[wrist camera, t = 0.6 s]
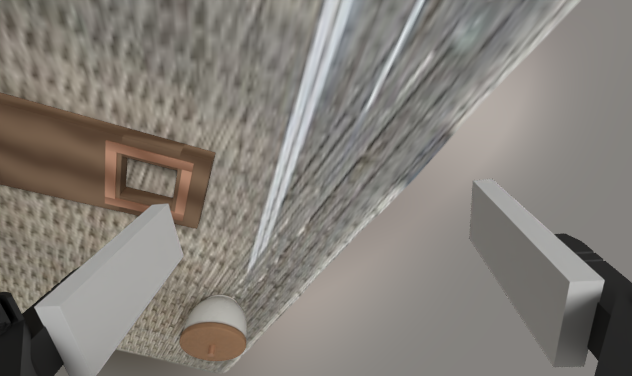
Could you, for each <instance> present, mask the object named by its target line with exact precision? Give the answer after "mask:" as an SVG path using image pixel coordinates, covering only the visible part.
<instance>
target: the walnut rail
mask: <svg viewBox="0 0 632 376" xmlns="http://www.w3.org/2000/svg"><path fill="white" fill-rule="evenodd" d="M214 157H215V152H211V151H208V150H204V149H201V148H197V147H193V146H190V145H186V144H183V143H179V142H175V141H172V140H168V139H165V138H161V137H158V136H154V135H150V134H147V133H143V132H140V131H136V130H132V129H129V128H125V127H122V126H118V125H115V124H111V123H107V122H104V121H100V120H97V119H93V118H89V117H86V116H82V115H79V114H75V113H72V112H68V111H64V110H61V109H57V108H54V107H50V106H46V105H43V104H39V103H36V102H32V101H29V100H25V99H21V98H18V97H14V96H11V95H7V94H4V93H0V184H1V185H5V186H10V187H14V188H18V189H23V190H27V191H32V192H36V193H41V194H45V195H49V196H54V197H58V198H63V199H67V200H72V201H76V202H80V203H85V204H89V205H94V206H98V207H103V208H107V209H111V210H116V211H120V212H125V213H129V214H134V215H138V216H140V215H141V214H142V213H143V212H144V211H145V210H147V209H148V208H149V207H150V206H151V205H156V204H169V208H170V211H171V214H172V218H173V221H174V224H178V225H182V226H187V227H191V228H196V229H197V227H198V224H199V221H200V217H201V213H202V209H203V204H204V200H205V196H206V191H207V187H208V183H209V178H210V174H211V170H212V166H213V161H214ZM127 158H131V159H135V160H138V161H142V162H146V163H150V164H154V165H158V166H161V167H165V168H169V169H173V170H177V171H178V172H177V178H176V184H175V190H174V197H173V198H170V197H166V196H162V195H158V194H154V193H150V192H146V191H141V190H137V189H133V188H129V187H126V174H127Z"/></svg>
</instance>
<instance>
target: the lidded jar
mask: <svg viewBox="0 0 632 376" xmlns="http://www.w3.org/2000/svg"><path fill="white" fill-rule="evenodd" d="M246 335H247V321H246V316H245V313H244V311H243V309H242V308H241V307H240V305H239V304H238V303H237V301H236V300H235V299H233V298H232V297H230V296H227V295H212V296H210V297H208V298H206V299H205V300H203V301H202V302H200V303H199V304H198V305H196V306H195V308H194V309H193V310H192V311H191V313H190V315H189V317H188V318H187V321H186V323H185V326H184V329H183V332H182V334H181V337H180V346H181V348H182V349H183V350H184V351H185V352H186V353H188V354H189V355H191V356H193V357H196V358H199V359H203V360H209V361H224V360H229V359H233V358H235V357H237V356H239V355H240V354H242V353H243V351H244V350H245V348H246Z"/></svg>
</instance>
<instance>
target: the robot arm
mask: <svg viewBox="0 0 632 376" xmlns="http://www.w3.org/2000/svg"><path fill="white" fill-rule="evenodd" d="M469 239H470V241H471V242H472V244H473V245H474V247H475V248H476V250H477V251H478V253H479V254H480V256H481V258H482V259H483V261H484V262H485V264H486V265H487V266H488V268H489V270H490V271H491V273H492V274H493V276H494V277H495V279H496V280H497V282H498V283H499V285H500V286H501V288H502V289H503V291H504V292H505V294H506V296H507V297H508V299H509V300H510V302H511V303H512V305H513V306H514V308H515V309H516V311H517V312H518V314H519V315H520V317H521V318H522V320H523V321H524V323H525V324H526V326H527V328H528V329H529V330H530V332H531V334H532V335H533V337H534V338H535V340H536V341H537V343H538V344H539V346H540V347H541V349H542V350H543V352H544V354H545V355H546V356H547V358H548V360H549V361H550V363H551V364H552V366H553V367H581V366H584V365H585V361H586V357H587V353H588V349H589V350H590V351H591V352H592V354H593V355H594V356H595V357H596V359H597V360H598V365H597V369H596V372H595V376H632V283H631V282H630V281H629V280H628V279H627V278H625V277H624V276H623V275H622V274H620V273H619V272H618V271H617V270H616V269H615V268H613V267H612V266H611V265H609V264H608V263H607V262H606V261H603V259H602V258H601V257H600V256H599V255H597V254H596V253H594V252H593V250H591V249H590V248H589V247H588V246H587V245H585V244H584V243H583V242H582V241H580V240H578V239H575V238H573V237H571V236H569V235H567V234H553V233H552V232H550V231H549V230H548V229H547V228H546V227H545V226H544V225H543V224H542V223H541V222H539V221H538V220H537V219H536V218H535V217H534V216H533V215H532V214H531V213H529V212H528V211H527V210H526V209H525V208H524V207H523V206H522V205H521V204H519V203H518V202H517V201H516V200H515V199H514V198H513V197H512V196H511V195H509V194H508V193H507V192H506V191H505V190H504V189H503V188H502V187H501V186H499V185H498V184H497V183H496V182H495V181H494V180H493V179H487V180H474V181H473V188H472V205H471V220H470V236H469ZM182 258H183V252H182V249H181V245H180V242H179V239H178V235H177V232H176V228H175V225H174V221H173V218H172V214H171V211H170V208H169V204H156V205H151V206H150V207H149V208H148V209H147V210H145V211H144V212H143V213H142V214H141V215H140V216H139V217H137V218H136V219H135V220H134V221H133V222H132V223H130V224H129V225H128V226H127V227H126V228H125V229H124V230H122V231H121V232H120V233H119V234H118V235H117V236H115V237H114V238H113V239H112V240H111V241H110V242H109V243H107V244H106V245H105V246H104V247H103V248H102V249H100V250H99V251H98V252H97V253H96V254H95V255H94V256H92V257H91V258H90V259H89V260H88V261H87V262H85V263H84V264H83V265H82V266H81V267H79V268H77V269H75V270H74V271H72V272H71V273H69V274H68V275H67V276H66V277H65V278H64V279H62V280H61V282H60V283H58V284H57V285H55V286H54V287H53V288H52V289H51V291H48V292H47V293H46V294H45V295H44V296H43V297H41V298H40V299H39V300H38V301H37V302H36V303H34V304H33V305H32V306H31V307H30V308H29V309H27V310H26V311H25V312H24V313H23V314H22V313H21V312H20V310H19V308H18V306H17V304H16V302H15V300H14V298H13V296H12V295H11V293H9V292H0V376H54V375H55V374H56V372H57V371H58V370H59V369H60V367H62V365H64V367H65V369H66V371H67V372H68V375H69V376H96V375H97V374H98V372H99V371H100V370H101V368H102V367H103V366H104V364H105V363H106V362H107V360H108V359H109V357H110V356H111V355H112V353H113V352H114V350H115V349H116V348H117V346H118V345H119V344H120V342H121V341H122V340H123V338H124V337H125V336H126V334H127V333H128V331H129V330H130V329H131V327H132V326H133V325H134V323H135V322H136V320H137V319H138V318H139V316H140V315H141V314H142V312H143V311H144V310H145V308H146V307H147V305H148V304H149V303H150V301H151V300H152V299H153V297H154V296H155V294H156V293H157V292H158V290H159V289H160V288H161V286H162V285H163V284H164V282H165V281H166V279H167V278H168V277H169V275H170V274H171V273H172V271H173V270H174V268H175V267H176V266H177V264H178V263H179V262H180V260H181V259H182Z"/></svg>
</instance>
